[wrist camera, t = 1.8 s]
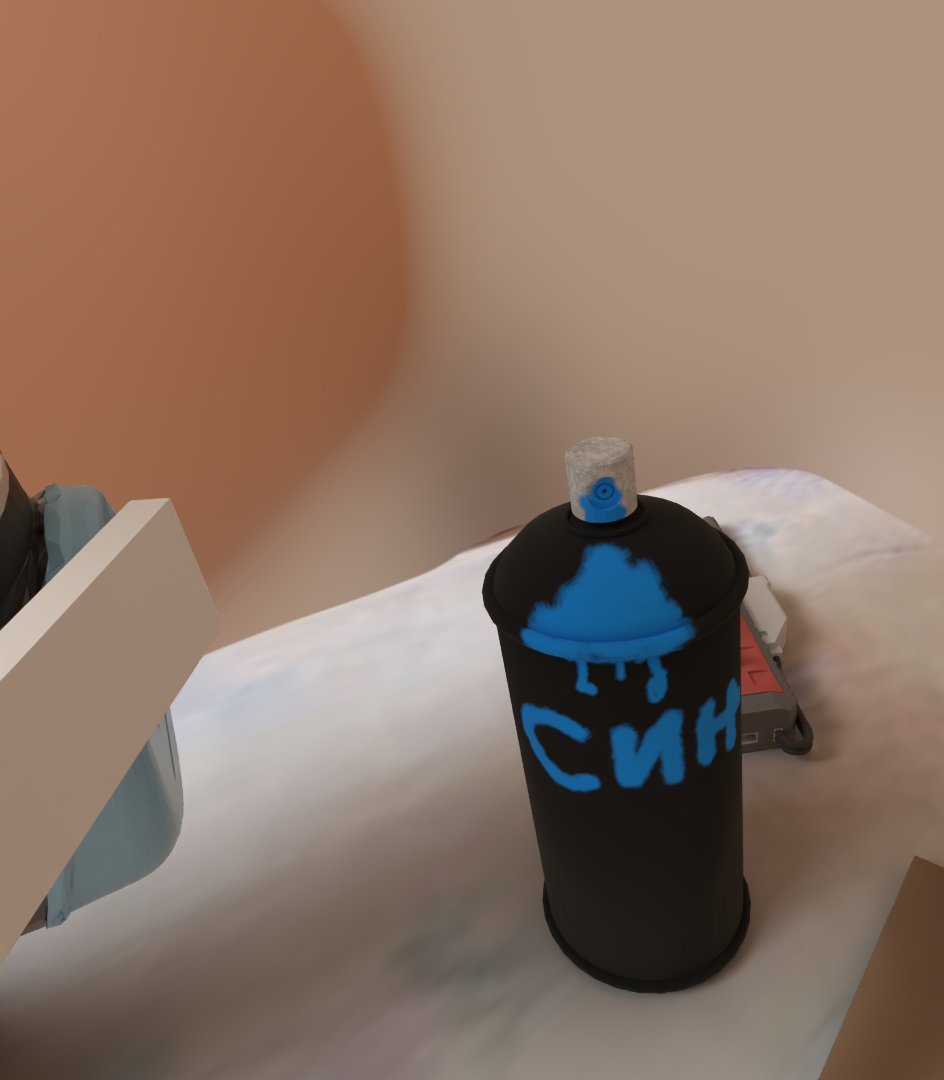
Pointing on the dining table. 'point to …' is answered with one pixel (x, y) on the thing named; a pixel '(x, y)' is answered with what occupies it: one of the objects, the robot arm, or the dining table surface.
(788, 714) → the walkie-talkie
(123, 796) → the robot arm
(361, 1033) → the dining table surface
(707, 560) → the aerosol can
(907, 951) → the board
